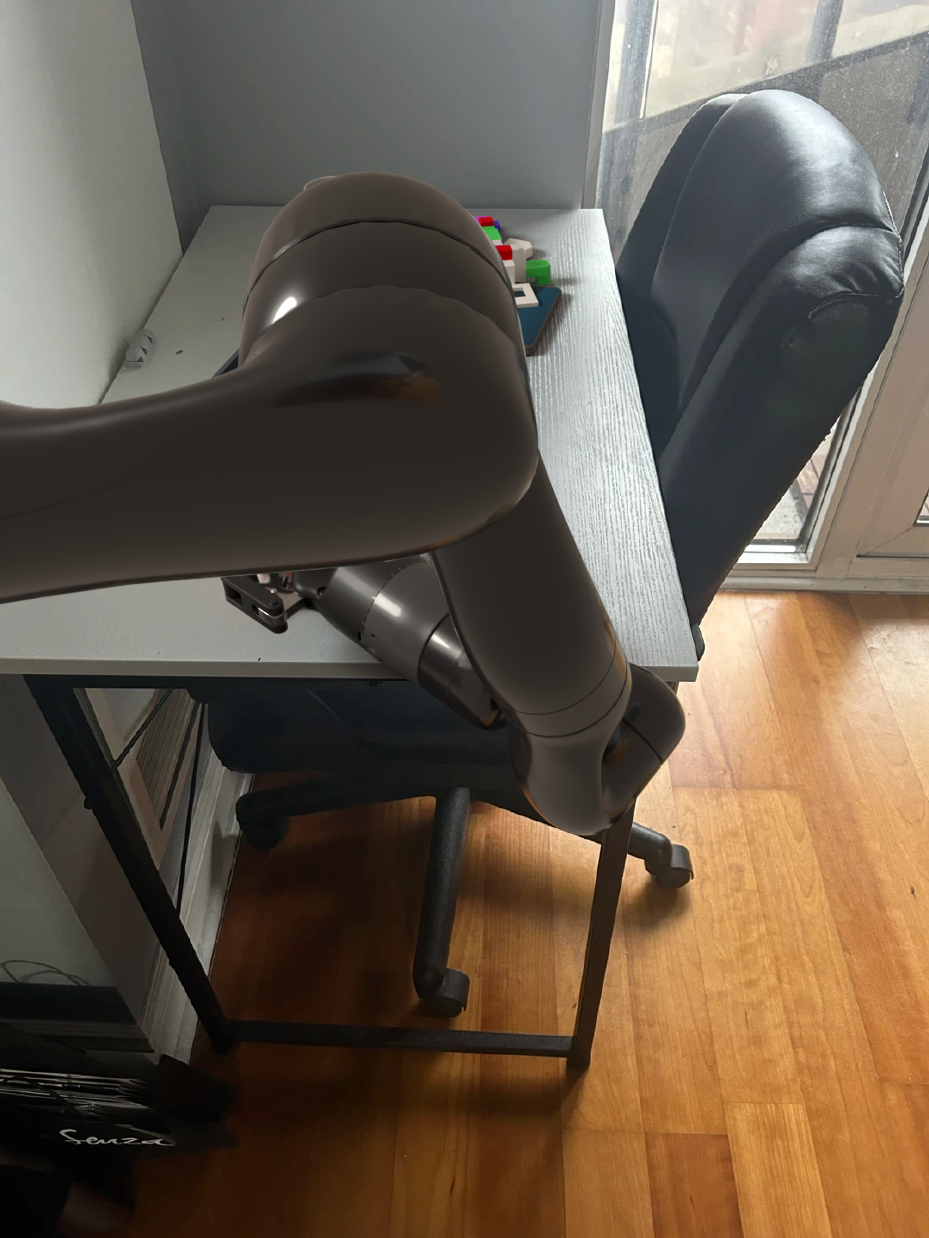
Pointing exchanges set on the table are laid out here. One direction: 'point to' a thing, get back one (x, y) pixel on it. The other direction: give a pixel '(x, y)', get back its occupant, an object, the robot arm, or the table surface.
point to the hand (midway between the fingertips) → (261, 512)
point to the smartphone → (537, 313)
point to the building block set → (517, 262)
